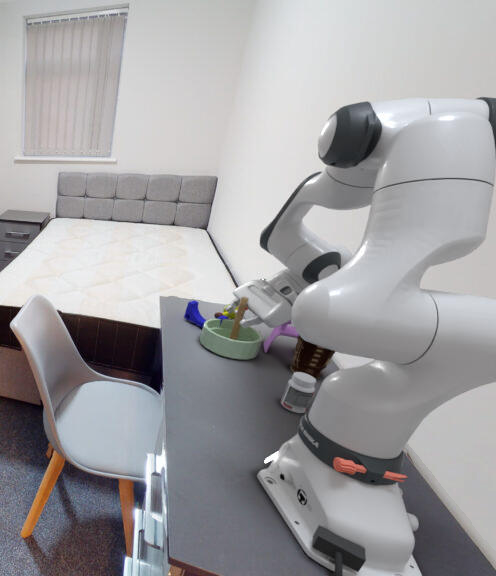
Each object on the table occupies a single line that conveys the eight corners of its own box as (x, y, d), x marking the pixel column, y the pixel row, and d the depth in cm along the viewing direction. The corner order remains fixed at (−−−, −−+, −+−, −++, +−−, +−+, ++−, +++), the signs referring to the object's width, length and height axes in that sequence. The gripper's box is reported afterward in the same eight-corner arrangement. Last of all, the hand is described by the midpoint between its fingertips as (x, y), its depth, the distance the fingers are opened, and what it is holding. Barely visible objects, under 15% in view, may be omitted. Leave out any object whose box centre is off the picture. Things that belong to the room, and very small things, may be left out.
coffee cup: (311, 364, 103) (328, 323, 98) (334, 382, 95) (354, 339, 90) (278, 362, 104) (293, 321, 99) (298, 380, 96) (316, 336, 91)
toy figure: (222, 332, 119) (228, 313, 117) (205, 324, 124) (210, 306, 121) (252, 320, 128) (258, 302, 125) (236, 314, 132) (241, 296, 129)
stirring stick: (239, 350, 108) (254, 301, 102) (225, 347, 109) (239, 299, 103) (236, 344, 111) (250, 296, 105) (222, 342, 112) (236, 294, 106)
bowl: (263, 365, 102) (270, 346, 100) (204, 355, 106) (209, 337, 104) (247, 340, 115) (253, 323, 113) (195, 332, 119) (200, 315, 117)
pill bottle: (310, 415, 84) (323, 385, 81) (286, 412, 85) (299, 381, 81) (298, 401, 88) (310, 372, 85) (276, 398, 89) (287, 369, 86)
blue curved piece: (225, 332, 118) (231, 316, 116) (216, 335, 117) (222, 319, 114) (192, 314, 128) (197, 299, 125) (183, 317, 126) (188, 302, 124)
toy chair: (303, 363, 103) (323, 315, 98) (265, 353, 108) (282, 307, 102) (298, 350, 110) (317, 304, 104) (263, 341, 114) (278, 297, 108)
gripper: (256, 269, 111) (213, 296, 116) (297, 296, 92) (243, 326, 97) (268, 284, 112) (224, 310, 117) (311, 313, 93) (257, 343, 98)
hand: (233, 318), depth 107 cm, fingers open, 8 cm apart
